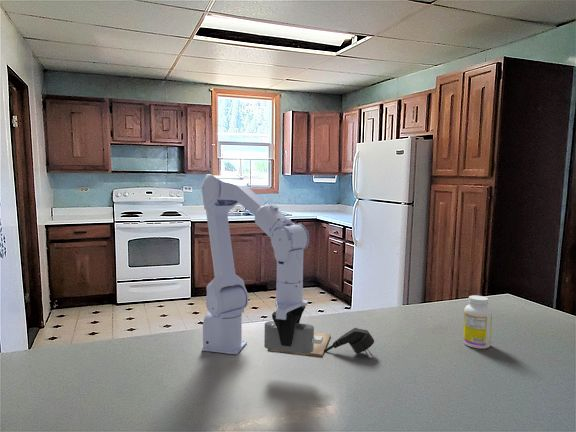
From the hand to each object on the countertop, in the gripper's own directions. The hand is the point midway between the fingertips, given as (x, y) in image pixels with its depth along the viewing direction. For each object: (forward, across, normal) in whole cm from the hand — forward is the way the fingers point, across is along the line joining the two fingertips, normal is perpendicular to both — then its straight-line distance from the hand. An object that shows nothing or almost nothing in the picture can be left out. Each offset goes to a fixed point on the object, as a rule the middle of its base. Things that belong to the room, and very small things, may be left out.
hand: (288, 341), depth 90 cm
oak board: (+8, +19, +2) cm, 21 cm away
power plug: (+8, +16, -12) cm, 21 cm away
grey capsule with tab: (+1, 0, 0) cm, 1 cm away
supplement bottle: (+8, +31, -44) cm, 54 cm away
